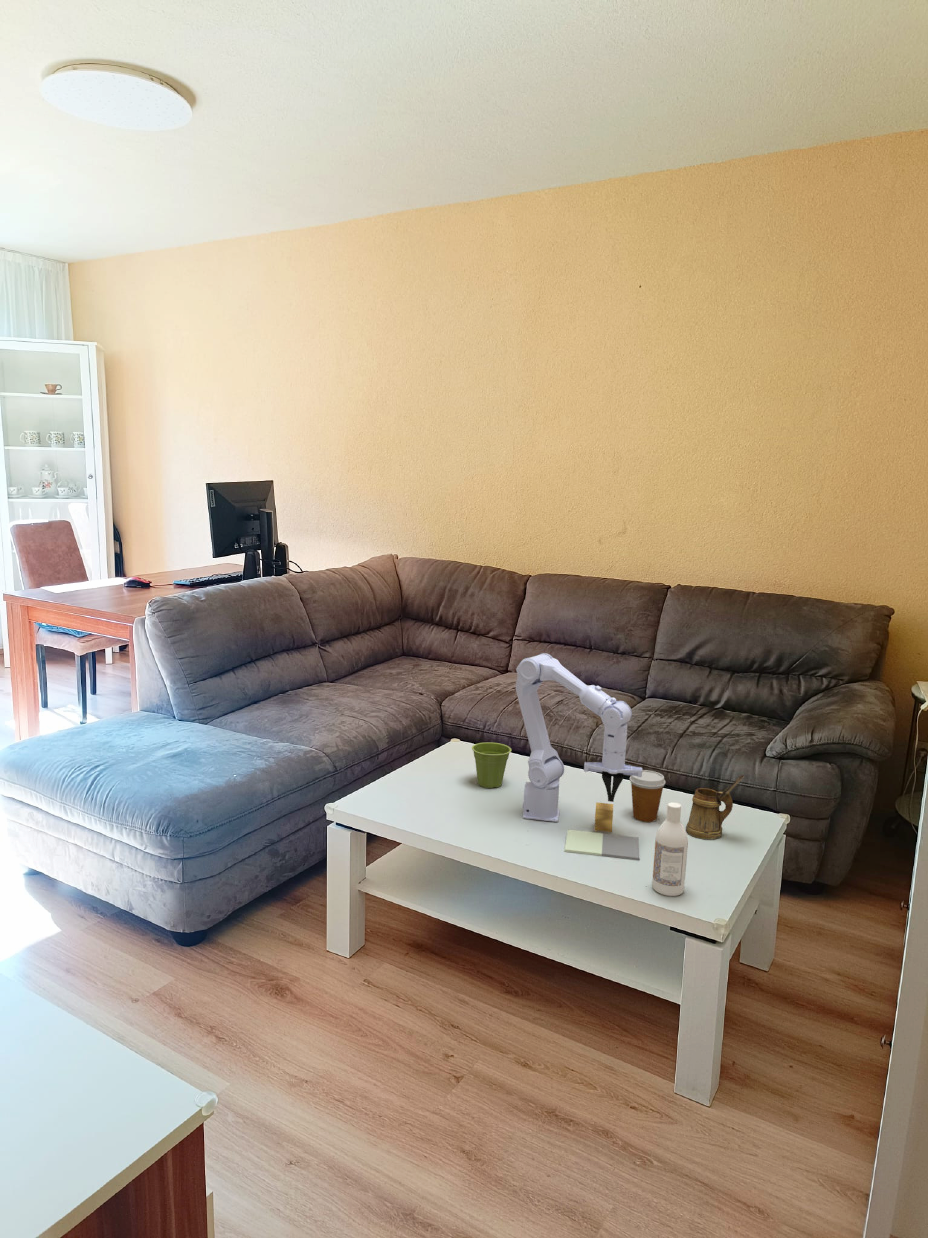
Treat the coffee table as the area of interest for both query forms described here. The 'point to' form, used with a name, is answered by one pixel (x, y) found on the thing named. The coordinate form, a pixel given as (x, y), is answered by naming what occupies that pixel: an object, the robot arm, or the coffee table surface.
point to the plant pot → (490, 763)
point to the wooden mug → (709, 812)
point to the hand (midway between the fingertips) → (610, 800)
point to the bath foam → (670, 854)
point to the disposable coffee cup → (646, 795)
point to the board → (602, 844)
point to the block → (603, 817)
